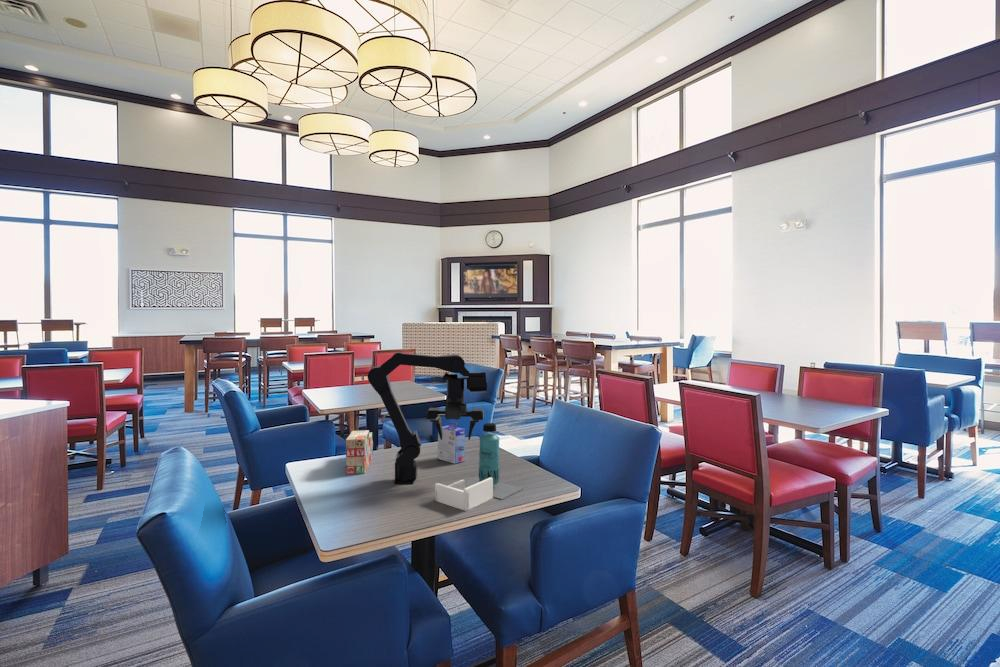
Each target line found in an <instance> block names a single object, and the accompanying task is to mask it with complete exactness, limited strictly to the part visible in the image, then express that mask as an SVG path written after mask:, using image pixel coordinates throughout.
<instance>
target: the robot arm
mask: <svg viewBox="0 0 1000 667" xmlns="http://www.w3.org/2000/svg"><path fill="white" fill-rule="evenodd" d="M465 364H466V362H465V360H464V359H463V357H462V356H461V355H459V354H444V355H443V354H442V355H428V354H418V353H417V354H416V353H408V352H407V353H405V352H404V353H403V352H402V351H397V352H395V353H394V354H393V355H392V356H391V357H390V358H389V359H388V360H386V361H385V362H383V363H382V364H381V365H375V366H373V367H372V368H371V369H370V370H369V372H368V374H367V380H368V382H369V384H370V385H371V387H372V388H373V390H374V391H375V392H376V393H377V394H378V395H379V396H380V398H381V401H382V403H383V405H384V407H385V409H386V411H387V414H388V416H389V418H390V421H391V422H392V424H393V426H394V429H395V431H396V432H397V435H398V440H399V445H400V449H399V450H398V451H397V453H396V457H395V462H394V480H393V484H407V485H410V484H411V485H412V484H414V483H415V482H416V480H417V479H418V465H417V460H415V459H417V458H418V457H419V456H420V453H421V446H422V439H421V438H420V437H419V434H418V431H417V430H416V429H415V430H414V431H413V430H411V429H410V427H409V425H408V423H407V421H406V419H405V416H404V413H403V411H402V410H401V408H400V407H401V406H400V405H399V403H398V401H397V399H396V397H395V395H394V392H393V390H392V387H391V386H392V385H391V380H390V376H389V374H391V373H392V372H393V371H394V370H396V369H397V368H398V367H399V366H410V367H411V366H412V367H413V366H414V367H422V368H423V367H424V368H436V369H439V370H442V371H444V373H443V375H442V376H441V377H440V378H441V381H442V380H444V381H446V403H445V408H444V410H442V409H441V408H440V407H429V408H428V410H427V411H426V412H425V419H426V420H429V422H431V423H434V425H435V427H436V430H437V433H439V436H440V439H441V440H442V437H443V432H442V426H443V420H442V418H443V417H445V420H449V421H450V420H455V421H458V420H460V419H461V417H466V418H469V417H470V420H469V429H468V435H467V436H468V441H470V440H471V437H472V434H473V430H474V428H475V425H476V423H479V422H480V421H481V420H482V421H483V420H484V419H485V410H484V409H483V408H482V407H481V408H480V407H479V408H478V407H477V408H476V407H475V408H471V410H468V406H467V403H465V390H468V391H469V392H468V393H487V390H488V383H487V376H486V375H487V373H486V371H479V372H476V371H475V372H473V371H471V372H470V370H469V369H467V368H466V367H465V366H466V365H465ZM448 372H449V373H448ZM458 374H460V375H461V376H458Z"/></svg>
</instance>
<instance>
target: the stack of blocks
mask: <svg viewBox="0 0 1000 667" xmlns="http://www.w3.org/2000/svg"><path fill="white" fill-rule="evenodd" d="M373 448H374V441H373V432H370V430H369V429H368V430H364V429H363V430H352V431H351V432H350V434H349V435H348V436H347V438H345V460H346V461H345V465H346V466H345V474H346V475H364V474H366V472H367V470H368V468H369V465H370V462H371V461H372V459H373V456H374V451H373V450H374V449H373Z"/></svg>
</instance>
